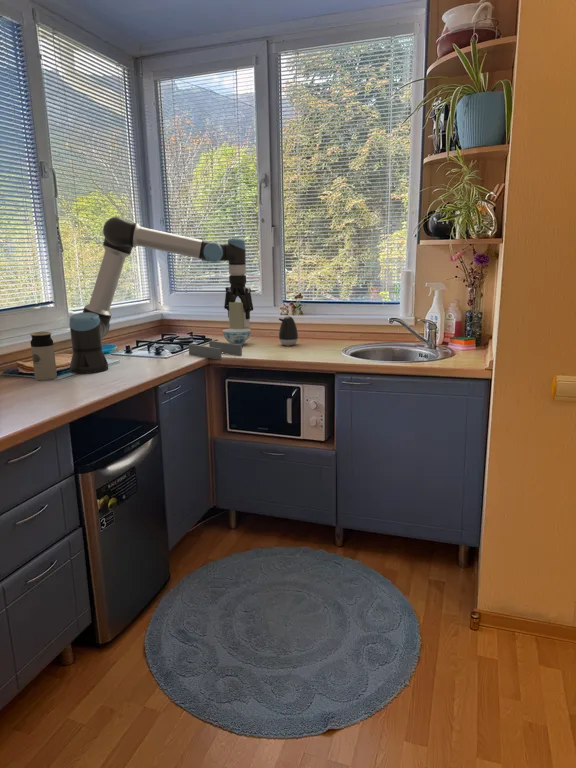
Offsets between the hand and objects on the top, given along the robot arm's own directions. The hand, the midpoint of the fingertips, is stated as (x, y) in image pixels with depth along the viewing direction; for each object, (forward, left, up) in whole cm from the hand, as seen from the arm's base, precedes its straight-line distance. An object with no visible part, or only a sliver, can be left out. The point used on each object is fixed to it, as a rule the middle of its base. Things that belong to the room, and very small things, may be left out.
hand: (239, 325), depth 242 cm
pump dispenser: (+43, +8, -16) cm, 46 cm away
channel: (0, +17, -15) cm, 23 cm away
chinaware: (+28, +31, -16) cm, 45 cm away
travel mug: (-75, +32, -16) cm, 83 cm away
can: (0, 0, -1) cm, 1 cm away
